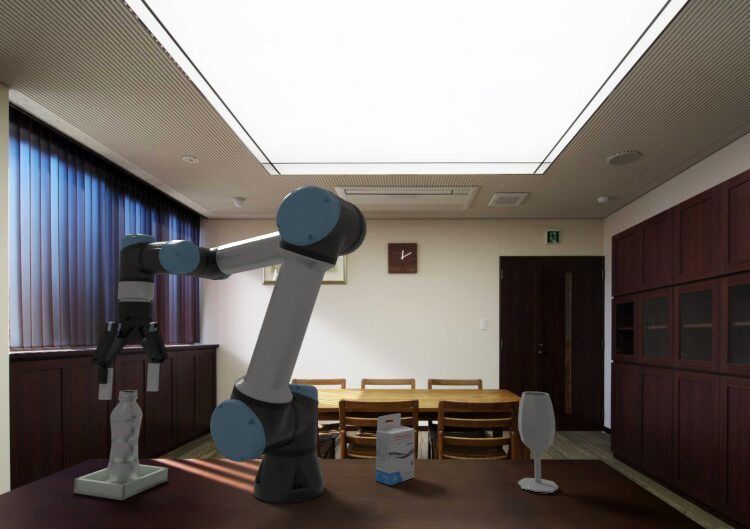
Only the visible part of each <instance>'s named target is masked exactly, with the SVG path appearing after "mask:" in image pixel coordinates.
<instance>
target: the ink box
mask: <svg viewBox="0 0 750 529" xmlns="http://www.w3.org/2000/svg"><path fill="white" fill-rule="evenodd" d="M401 416H402V414H401V413H400V412H399V413H393V414H386V415H382V416H378V417H377V421H376V422H377V424H376V427H377V428H376V444H375V446H376V448H375V449H376V452H375V453H376V454H375V482H376V481H379V482H381V483H380V484H382V483H385V484H387V485H386V486H388V485H392V484H396V483H399V482H402V481H405V480H408V479H411V478H413V477H414V478H415V433H416V432H415V431H416V430H415V428H413V427H409V426H405V425H401V422H402V420H401V419H402V418H401ZM389 420H392V421H389ZM386 421H389V422H386ZM379 482H378V483H379ZM402 483H403V482H402ZM385 484H384V485H385ZM399 484H400V483H399ZM396 485H397V484H396Z"/></svg>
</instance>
